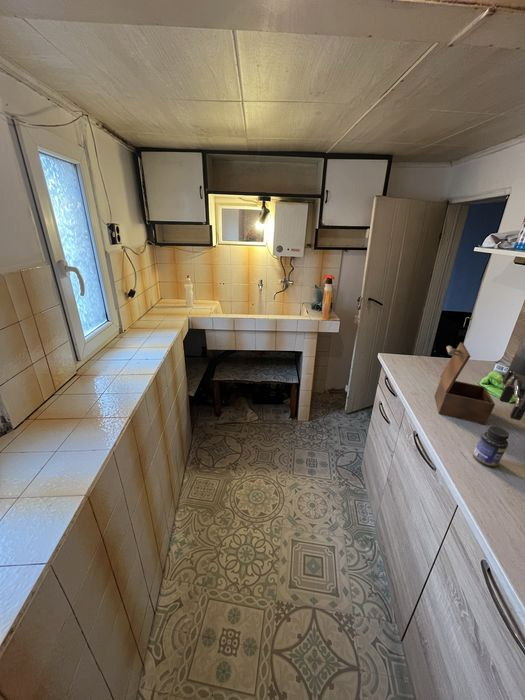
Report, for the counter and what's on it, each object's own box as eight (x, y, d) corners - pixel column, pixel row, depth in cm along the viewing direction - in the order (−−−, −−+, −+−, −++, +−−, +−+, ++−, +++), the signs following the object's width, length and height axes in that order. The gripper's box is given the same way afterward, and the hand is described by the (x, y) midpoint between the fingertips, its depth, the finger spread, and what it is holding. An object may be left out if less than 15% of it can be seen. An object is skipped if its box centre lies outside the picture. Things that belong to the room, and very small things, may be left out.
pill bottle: (492, 471, 80) (508, 441, 75) (468, 457, 84) (482, 428, 80) (500, 462, 83) (515, 432, 79) (476, 449, 88) (490, 421, 83)
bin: (476, 405, 109) (485, 386, 106) (485, 425, 99) (495, 404, 95) (434, 396, 114) (441, 377, 111) (438, 413, 104) (446, 393, 100)
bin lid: (462, 342, 103) (447, 338, 104) (470, 356, 92) (453, 350, 94) (442, 377, 110) (428, 372, 112) (447, 393, 100) (432, 387, 101)
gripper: (570, 372, 62) (537, 429, 69) (542, 348, 74) (516, 399, 81) (528, 364, 65) (500, 420, 72) (507, 343, 77) (485, 393, 84)
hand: (508, 409), depth 76 cm, fingers open, 8 cm apart
